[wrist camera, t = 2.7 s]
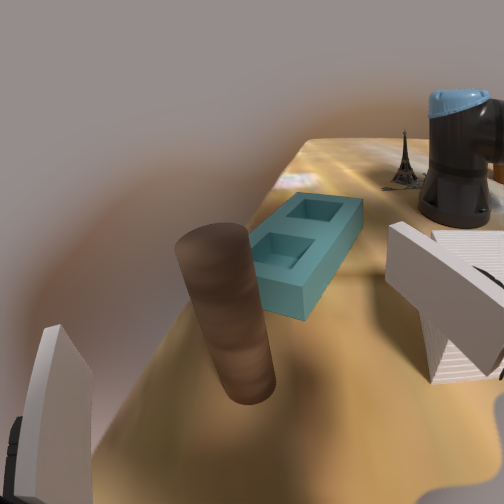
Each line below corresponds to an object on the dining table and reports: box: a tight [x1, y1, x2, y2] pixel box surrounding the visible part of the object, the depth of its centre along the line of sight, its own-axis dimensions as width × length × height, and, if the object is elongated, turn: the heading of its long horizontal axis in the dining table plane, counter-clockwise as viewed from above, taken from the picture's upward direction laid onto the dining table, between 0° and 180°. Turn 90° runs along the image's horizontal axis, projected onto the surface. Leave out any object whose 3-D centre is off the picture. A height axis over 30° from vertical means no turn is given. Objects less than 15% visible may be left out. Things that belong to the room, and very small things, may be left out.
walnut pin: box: [175, 223, 276, 405], centre depth 25 cm, size 5×5×16 cm
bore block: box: [248, 192, 363, 321], centre depth 46 cm, size 24×12×5 cm, turn 147°
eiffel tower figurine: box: [382, 131, 426, 191], centre depth 63 cm, size 15×10×13 cm
